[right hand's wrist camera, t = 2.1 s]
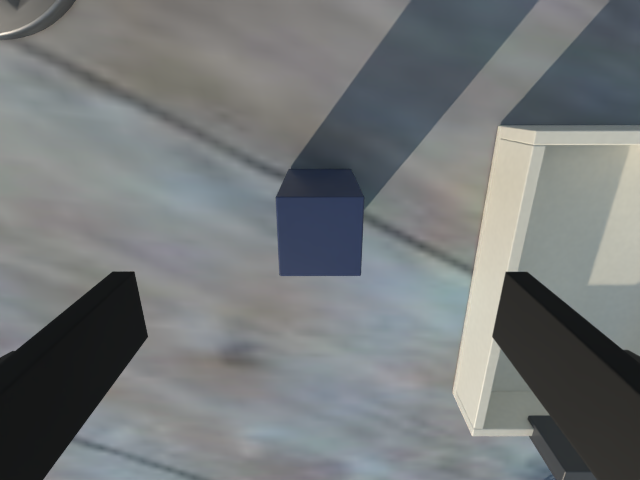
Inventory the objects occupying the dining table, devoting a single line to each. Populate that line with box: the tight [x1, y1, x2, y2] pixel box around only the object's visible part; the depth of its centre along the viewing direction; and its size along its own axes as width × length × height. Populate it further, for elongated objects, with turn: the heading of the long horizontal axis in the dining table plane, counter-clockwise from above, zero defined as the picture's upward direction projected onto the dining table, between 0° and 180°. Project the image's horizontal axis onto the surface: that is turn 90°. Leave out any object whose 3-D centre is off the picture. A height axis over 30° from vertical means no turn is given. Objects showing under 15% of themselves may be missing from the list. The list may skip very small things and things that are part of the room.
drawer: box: [453, 125, 640, 480], centre depth 25 cm, size 24×18×8 cm
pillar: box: [276, 169, 364, 276], centre depth 23 cm, size 4×4×8 cm
